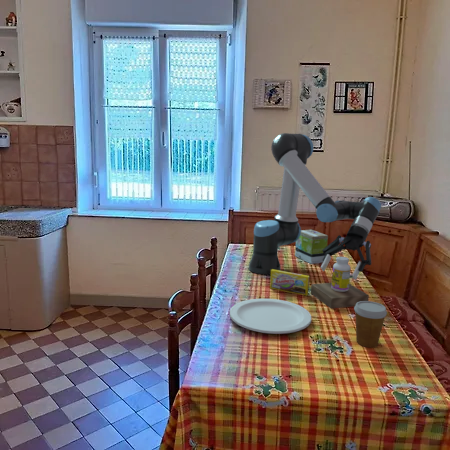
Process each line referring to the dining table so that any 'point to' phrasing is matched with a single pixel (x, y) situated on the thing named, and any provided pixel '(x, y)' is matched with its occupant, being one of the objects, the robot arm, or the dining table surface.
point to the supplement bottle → (341, 275)
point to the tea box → (311, 246)
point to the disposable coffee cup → (369, 322)
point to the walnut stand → (338, 295)
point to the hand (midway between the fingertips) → (337, 273)
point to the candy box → (289, 282)
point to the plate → (270, 316)
